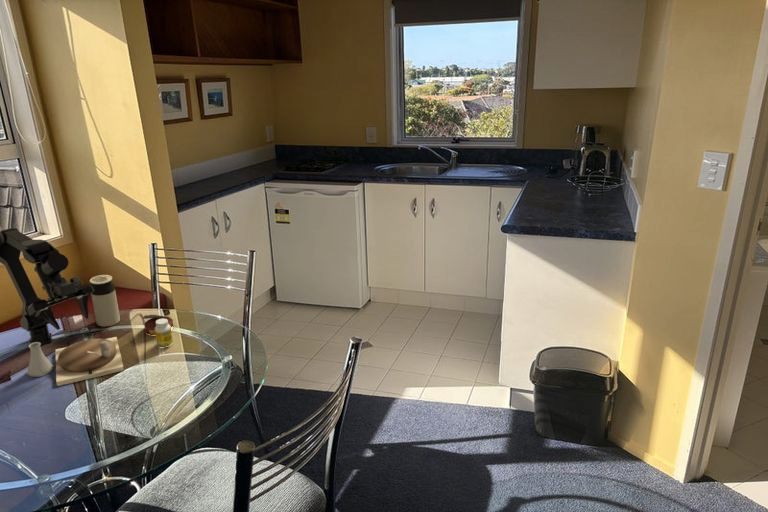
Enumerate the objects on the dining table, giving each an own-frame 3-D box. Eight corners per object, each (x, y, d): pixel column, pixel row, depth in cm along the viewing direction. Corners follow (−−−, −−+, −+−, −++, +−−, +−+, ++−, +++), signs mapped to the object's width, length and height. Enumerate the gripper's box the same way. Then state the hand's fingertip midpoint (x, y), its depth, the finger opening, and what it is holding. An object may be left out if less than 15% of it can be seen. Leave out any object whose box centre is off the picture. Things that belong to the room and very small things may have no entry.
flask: (42, 379, 175) (35, 352, 171) (22, 376, 176) (15, 349, 172) (58, 366, 181) (52, 340, 177) (39, 363, 182) (33, 337, 179)
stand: (56, 353, 188) (55, 348, 188) (117, 340, 197) (116, 335, 196) (57, 386, 171) (56, 381, 171) (123, 370, 180) (123, 365, 180)
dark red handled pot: (146, 343, 205) (132, 320, 203) (168, 329, 212) (155, 307, 210) (160, 339, 197) (146, 315, 196) (183, 325, 205) (170, 302, 203)
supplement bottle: (165, 339, 199) (161, 315, 195) (176, 343, 197) (173, 319, 193) (153, 346, 194) (150, 322, 190) (165, 350, 192) (161, 326, 188)
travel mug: (105, 329, 204) (97, 285, 197) (92, 323, 208) (84, 279, 201) (124, 320, 210) (117, 277, 203) (111, 314, 214) (104, 272, 207)
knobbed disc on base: (46, 366, 178) (42, 347, 175) (86, 340, 193) (82, 322, 191) (91, 376, 174) (87, 357, 171) (128, 348, 189) (125, 330, 186)
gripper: (29, 281, 162) (53, 329, 163) (90, 263, 177) (111, 306, 178) (17, 291, 169) (39, 337, 170) (76, 273, 184) (97, 315, 185)
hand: (73, 323), depth 175 cm, fingers open, 9 cm apart
